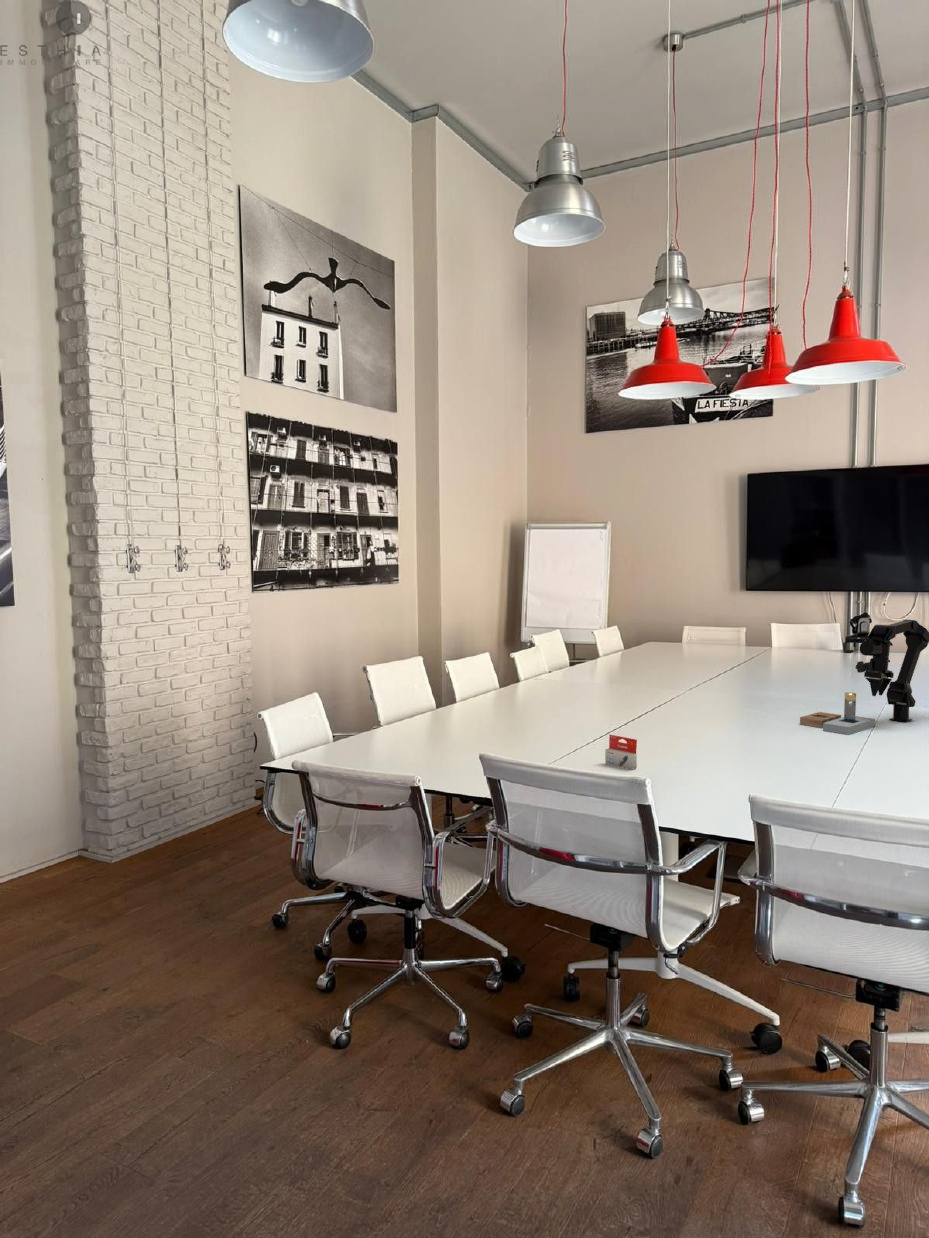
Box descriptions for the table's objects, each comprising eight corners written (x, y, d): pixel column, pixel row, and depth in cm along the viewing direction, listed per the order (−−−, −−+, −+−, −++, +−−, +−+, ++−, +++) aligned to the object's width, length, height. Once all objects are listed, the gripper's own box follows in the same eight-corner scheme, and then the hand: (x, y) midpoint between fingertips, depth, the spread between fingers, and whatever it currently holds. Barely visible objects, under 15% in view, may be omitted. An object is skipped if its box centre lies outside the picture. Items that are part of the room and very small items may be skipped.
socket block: (819, 718, 339) (819, 711, 339) (841, 722, 332) (841, 714, 332) (799, 724, 329) (800, 717, 329) (821, 728, 322) (821, 720, 322)
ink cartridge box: (632, 770, 265) (633, 740, 264) (604, 764, 273) (604, 735, 272) (637, 768, 267) (637, 739, 266) (609, 762, 275) (609, 734, 274)
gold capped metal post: (844, 727, 323) (845, 692, 322) (855, 727, 321) (856, 692, 320) (843, 728, 320) (844, 693, 319) (854, 729, 318) (855, 694, 317)
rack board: (849, 722, 332) (849, 715, 331) (874, 726, 324) (875, 718, 324) (822, 730, 318) (823, 723, 317) (848, 734, 310) (848, 727, 310)
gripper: (865, 654, 336) (862, 692, 337) (852, 654, 322) (848, 693, 323) (895, 657, 329) (891, 695, 329) (882, 657, 315) (878, 697, 315)
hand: (877, 695), depth 324 cm, fingers open, 9 cm apart
